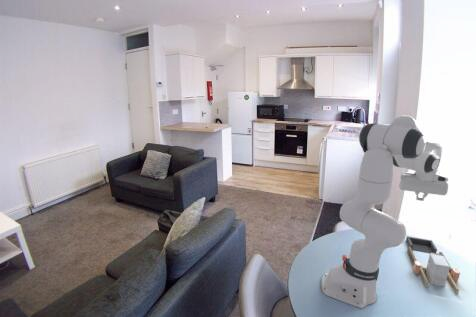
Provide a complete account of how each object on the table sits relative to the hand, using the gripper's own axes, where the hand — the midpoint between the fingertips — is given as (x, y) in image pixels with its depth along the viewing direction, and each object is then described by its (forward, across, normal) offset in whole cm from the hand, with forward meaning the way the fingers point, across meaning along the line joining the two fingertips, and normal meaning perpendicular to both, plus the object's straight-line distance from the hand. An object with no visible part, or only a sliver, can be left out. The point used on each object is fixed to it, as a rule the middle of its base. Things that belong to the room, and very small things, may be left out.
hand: (419, 200), depth 139 cm
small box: (+29, +6, -22) cm, 37 cm away
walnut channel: (+29, +6, -10) cm, 31 cm away
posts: (+29, +6, -20) cm, 35 cm away
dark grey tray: (+28, +6, +3) cm, 29 cm away
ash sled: (+28, +6, -23) cm, 37 cm away
